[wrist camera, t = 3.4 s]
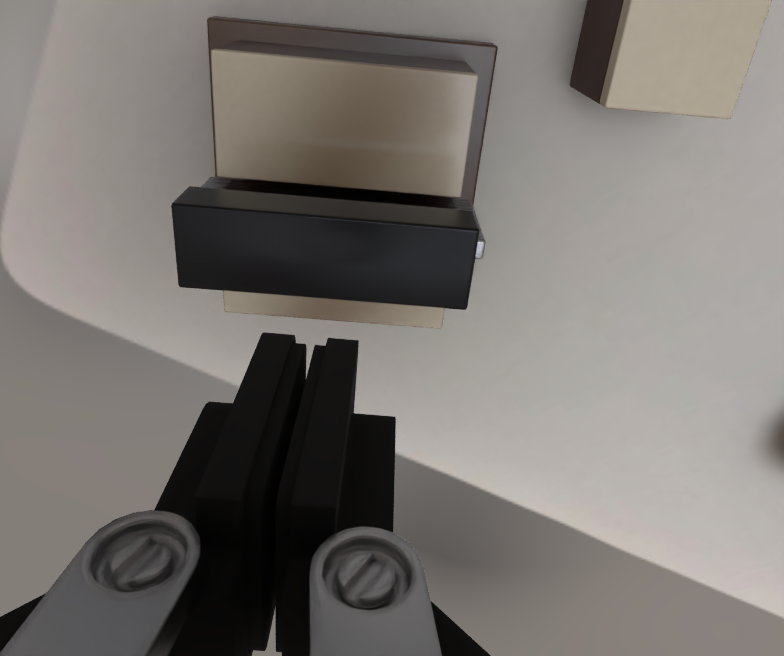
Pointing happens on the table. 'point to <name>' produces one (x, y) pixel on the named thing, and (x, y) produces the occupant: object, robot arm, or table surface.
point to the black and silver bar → (326, 243)
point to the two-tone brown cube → (668, 54)
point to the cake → (346, 126)
